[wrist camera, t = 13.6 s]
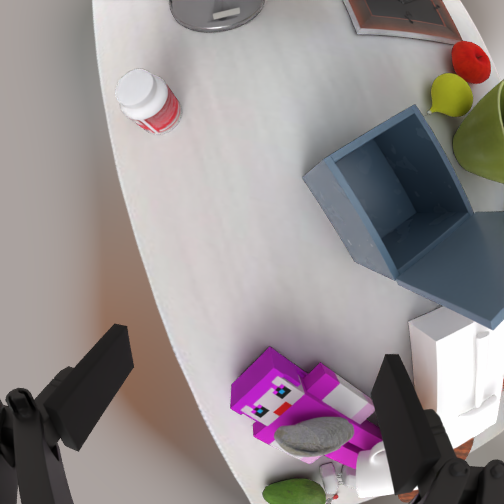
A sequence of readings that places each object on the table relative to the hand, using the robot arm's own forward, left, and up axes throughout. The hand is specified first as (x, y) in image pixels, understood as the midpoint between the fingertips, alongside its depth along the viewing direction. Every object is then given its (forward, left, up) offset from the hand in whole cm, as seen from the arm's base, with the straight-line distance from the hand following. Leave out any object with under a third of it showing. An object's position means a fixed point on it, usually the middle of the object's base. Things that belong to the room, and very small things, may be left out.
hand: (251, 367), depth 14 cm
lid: (+13, +15, -6) cm, 20 cm away
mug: (+28, -15, -17) cm, 36 cm away
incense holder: (+57, -19, -24) cm, 65 cm away
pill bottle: (-23, +11, -27) cm, 37 cm away
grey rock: (+18, -14, -21) cm, 31 cm away
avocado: (+33, -27, -21) cm, 47 cm away
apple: (+11, +49, -27) cm, 57 cm away
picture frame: (-5, +53, -27) cm, 60 cm away
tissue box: (+38, +4, -27) cm, 47 cm away
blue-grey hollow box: (+7, +17, -27) cm, 33 cm away
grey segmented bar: (+40, -20, -25) cm, 51 cm away
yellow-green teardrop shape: (+12, +42, -23) cm, 49 cm away
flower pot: (+18, +36, -27) cm, 48 cm away
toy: (+37, -15, -25) cm, 47 cm away
